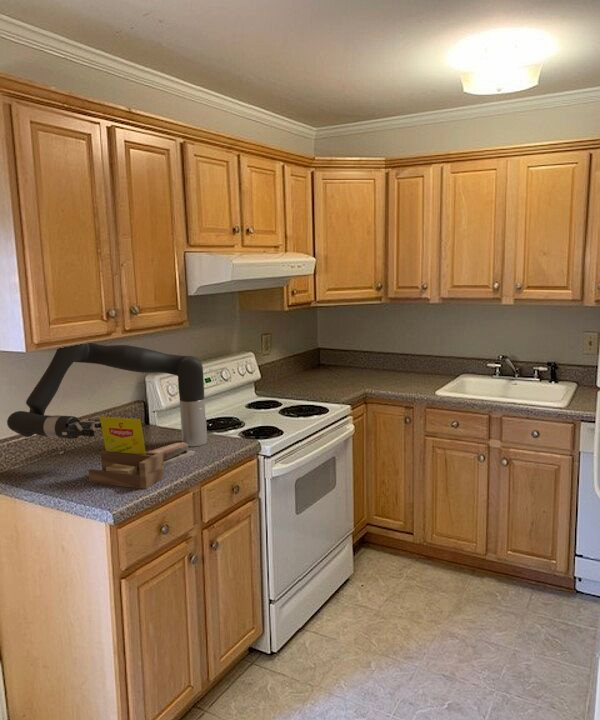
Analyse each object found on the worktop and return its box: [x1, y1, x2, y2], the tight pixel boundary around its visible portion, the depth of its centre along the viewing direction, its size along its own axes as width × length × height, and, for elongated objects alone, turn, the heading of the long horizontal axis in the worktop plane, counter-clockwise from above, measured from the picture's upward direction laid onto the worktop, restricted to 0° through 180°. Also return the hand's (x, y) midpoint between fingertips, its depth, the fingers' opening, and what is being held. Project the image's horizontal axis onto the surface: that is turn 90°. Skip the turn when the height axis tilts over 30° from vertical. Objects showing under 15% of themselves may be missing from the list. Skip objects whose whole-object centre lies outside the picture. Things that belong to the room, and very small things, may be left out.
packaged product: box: [148, 441, 196, 467], centre depth 207 cm, size 18×5×10 cm
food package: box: [99, 416, 147, 455], centre depth 189 cm, size 15×1×20 cm, turn 70°
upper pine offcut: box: [106, 464, 137, 474], centre depth 187 cm, size 4×9×2 cm, turn 64°
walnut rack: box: [88, 450, 165, 490], centre depth 187 cm, size 10×21×8 cm, turn 71°
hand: (102, 429), depth 192 cm, fingers open, 8 cm apart
